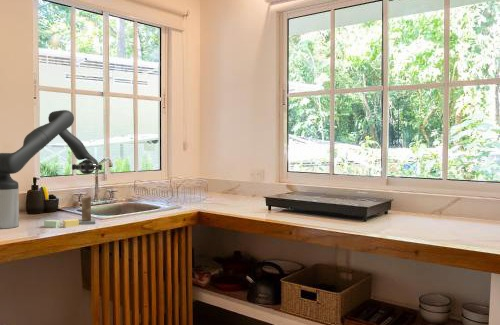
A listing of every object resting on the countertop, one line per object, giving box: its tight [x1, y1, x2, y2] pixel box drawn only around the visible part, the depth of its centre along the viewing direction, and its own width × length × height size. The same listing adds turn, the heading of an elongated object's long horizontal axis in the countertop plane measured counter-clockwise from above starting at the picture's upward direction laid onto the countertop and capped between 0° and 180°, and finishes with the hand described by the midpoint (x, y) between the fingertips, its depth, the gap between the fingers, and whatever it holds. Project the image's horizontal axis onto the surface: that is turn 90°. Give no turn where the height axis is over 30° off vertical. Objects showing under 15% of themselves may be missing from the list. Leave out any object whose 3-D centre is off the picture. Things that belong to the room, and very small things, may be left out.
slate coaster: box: [77, 218, 97, 226], centre depth 211 cm, size 8×8×1 cm
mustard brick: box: [62, 218, 80, 228], centre depth 203 cm, size 6×3×3 cm, turn 133°
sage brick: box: [43, 219, 61, 229], centre depth 201 cm, size 6×3×3 cm, turn 81°
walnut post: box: [81, 196, 92, 221], centre depth 211 cm, size 4×4×11 cm
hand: (86, 167), depth 221 cm, fingers open, 8 cm apart
